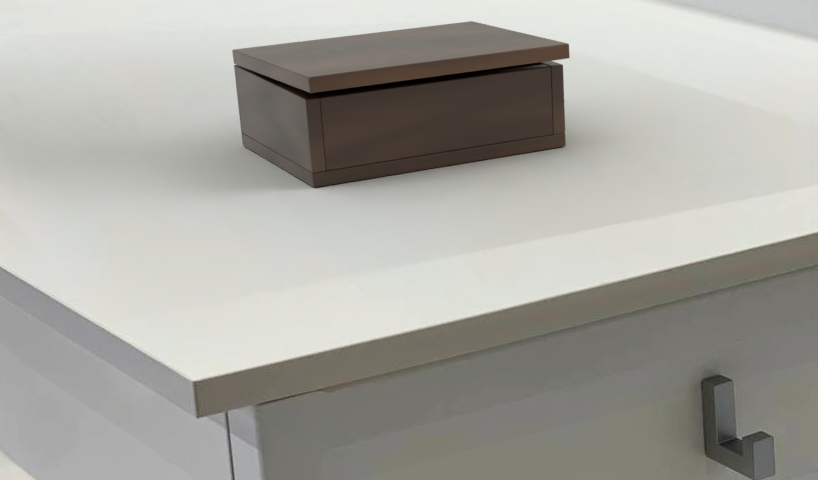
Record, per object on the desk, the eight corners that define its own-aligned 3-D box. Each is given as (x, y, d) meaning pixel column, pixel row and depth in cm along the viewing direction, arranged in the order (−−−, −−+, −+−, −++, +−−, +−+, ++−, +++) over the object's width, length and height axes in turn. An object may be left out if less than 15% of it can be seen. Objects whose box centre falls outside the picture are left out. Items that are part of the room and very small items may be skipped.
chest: (566, 146, 94) (563, 64, 93) (313, 187, 87) (305, 99, 85) (477, 110, 104) (473, 35, 102) (242, 145, 96) (233, 64, 95)
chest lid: (570, 58, 92) (569, 43, 92) (310, 93, 84) (308, 77, 84) (473, 34, 102) (472, 20, 102) (233, 64, 95) (231, 49, 94)
